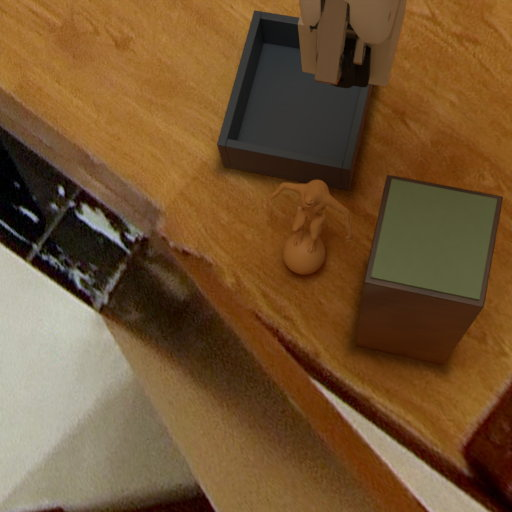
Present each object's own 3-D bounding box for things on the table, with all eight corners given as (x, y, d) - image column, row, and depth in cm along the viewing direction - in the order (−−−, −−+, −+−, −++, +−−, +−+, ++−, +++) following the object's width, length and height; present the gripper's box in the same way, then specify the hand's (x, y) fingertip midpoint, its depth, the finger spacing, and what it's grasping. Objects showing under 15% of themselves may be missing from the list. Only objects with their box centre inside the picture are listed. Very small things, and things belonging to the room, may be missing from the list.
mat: (496, 200, 58) (497, 198, 58) (478, 300, 56) (479, 299, 56) (391, 180, 59) (391, 178, 59) (370, 278, 58) (370, 276, 57)
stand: (458, 281, 79) (503, 196, 58) (443, 365, 77) (483, 307, 56) (373, 264, 81) (387, 173, 60) (355, 346, 78) (363, 282, 57)
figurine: (256, 259, 82) (243, 216, 70) (284, 205, 83) (276, 155, 72) (335, 296, 80) (335, 258, 69) (362, 240, 81) (367, 194, 70)
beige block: (405, 12, 56) (411, -42, 51) (387, 87, 55) (391, 40, 49) (321, -1, 57) (319, -56, 52) (302, 72, 56) (297, 24, 50)
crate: (379, 59, 87) (382, 30, 82) (349, 191, 83) (350, 170, 78) (258, 38, 89) (254, 9, 84) (223, 167, 85) (216, 144, 80)
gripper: (403, -8, 35) (384, 168, 52) (478, -322, 40) (438, -66, 57) (227, -36, 36) (265, 145, 54) (320, -337, 41) (328, -82, 58)
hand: (354, 35), depth 55 cm, fingers closed on beige block, 5 cm apart
